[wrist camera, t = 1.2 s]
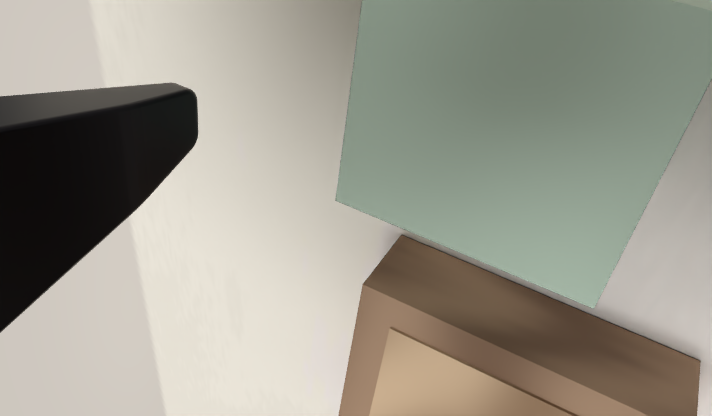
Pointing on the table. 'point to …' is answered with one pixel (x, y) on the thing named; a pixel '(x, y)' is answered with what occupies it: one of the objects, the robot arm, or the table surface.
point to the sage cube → (522, 125)
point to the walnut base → (497, 350)
